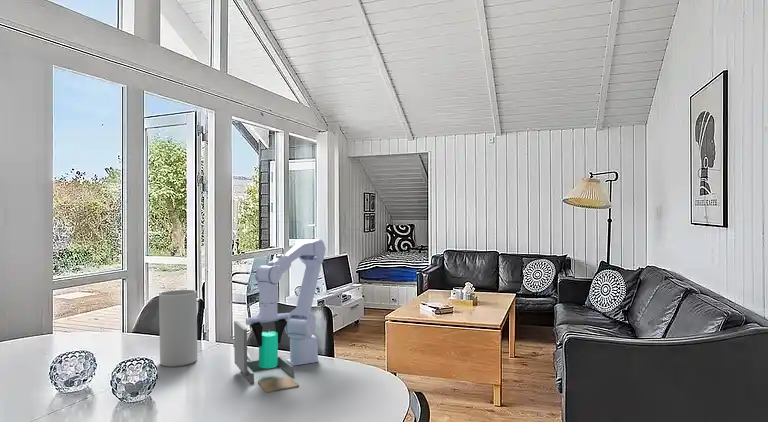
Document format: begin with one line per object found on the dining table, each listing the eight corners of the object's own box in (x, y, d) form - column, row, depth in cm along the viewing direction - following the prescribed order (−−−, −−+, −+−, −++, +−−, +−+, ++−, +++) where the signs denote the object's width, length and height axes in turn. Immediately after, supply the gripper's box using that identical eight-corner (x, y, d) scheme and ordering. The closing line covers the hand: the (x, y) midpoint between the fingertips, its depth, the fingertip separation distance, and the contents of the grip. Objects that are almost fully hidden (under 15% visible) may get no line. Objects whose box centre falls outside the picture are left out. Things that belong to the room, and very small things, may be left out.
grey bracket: (280, 363, 182) (279, 315, 182) (293, 375, 169) (293, 323, 168) (233, 370, 174) (232, 320, 174) (244, 384, 161) (243, 329, 161)
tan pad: (288, 377, 167) (288, 376, 167) (299, 386, 158) (299, 385, 158) (258, 382, 162) (258, 381, 162) (266, 392, 153) (266, 391, 153)
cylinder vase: (167, 369, 177) (166, 296, 177) (155, 362, 186) (154, 292, 186) (203, 362, 185) (202, 292, 185) (189, 355, 195) (188, 288, 194)
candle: (280, 363, 171) (281, 327, 171) (273, 369, 165) (273, 331, 165) (263, 361, 172) (264, 325, 172) (255, 367, 166) (256, 330, 166)
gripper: (284, 298, 176) (284, 338, 176) (242, 303, 168) (243, 345, 168) (292, 301, 170) (293, 342, 170) (249, 306, 162) (250, 349, 162)
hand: (268, 344), depth 169 cm, fingers closed on candle, 6 cm apart
